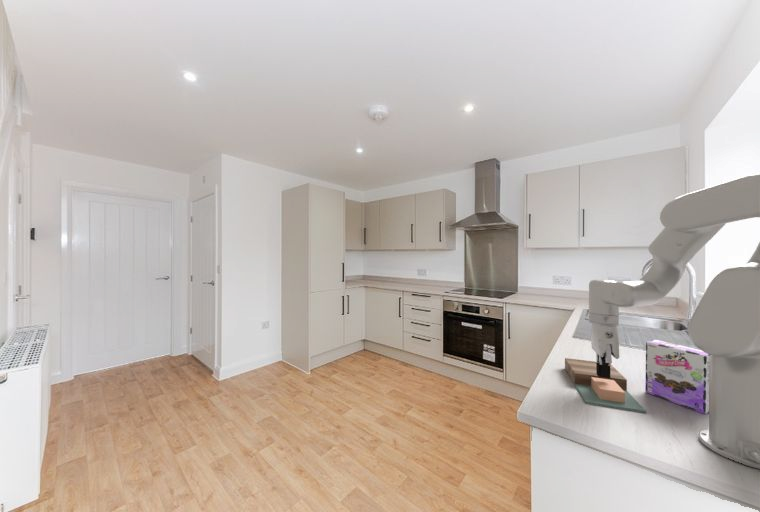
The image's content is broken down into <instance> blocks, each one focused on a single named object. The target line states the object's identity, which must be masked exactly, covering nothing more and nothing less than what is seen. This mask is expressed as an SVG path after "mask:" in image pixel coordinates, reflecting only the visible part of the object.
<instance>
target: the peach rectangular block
mask: <svg viewBox="0 0 760 512" xmlns="http://www.w3.org/2000/svg"><path fill="white" fill-rule="evenodd" d="M591 387H592V388H593V390H594V391H595V392H596V394H597V395H598V397H599V398H600V399H604V400H610V401H616V402H623V403H625V392H624V391H623V390H622V389H621V387H620V386H619V385H618V384H617V383H616V382H615V381H614V380H609V379H602V378H594V377H591Z"/></svg>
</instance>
